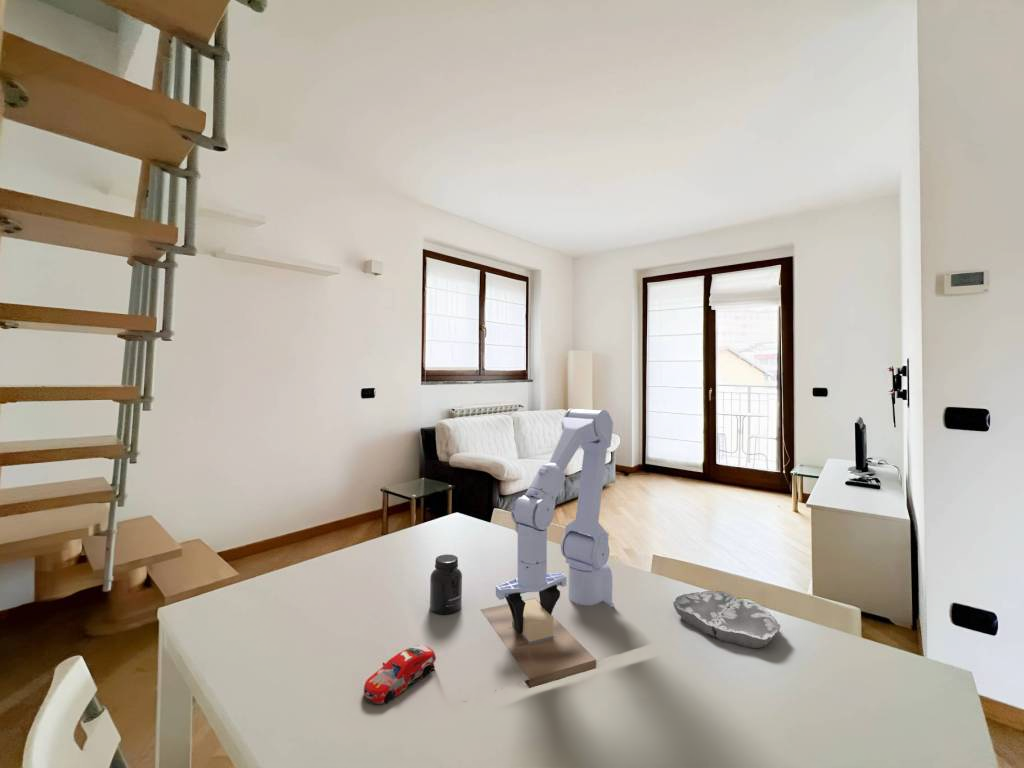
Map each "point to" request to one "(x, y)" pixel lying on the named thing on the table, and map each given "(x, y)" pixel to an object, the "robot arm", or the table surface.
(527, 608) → the block
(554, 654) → the board
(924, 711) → the table surface
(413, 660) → the race car
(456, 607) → the supplement bottle
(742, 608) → the brain slice
